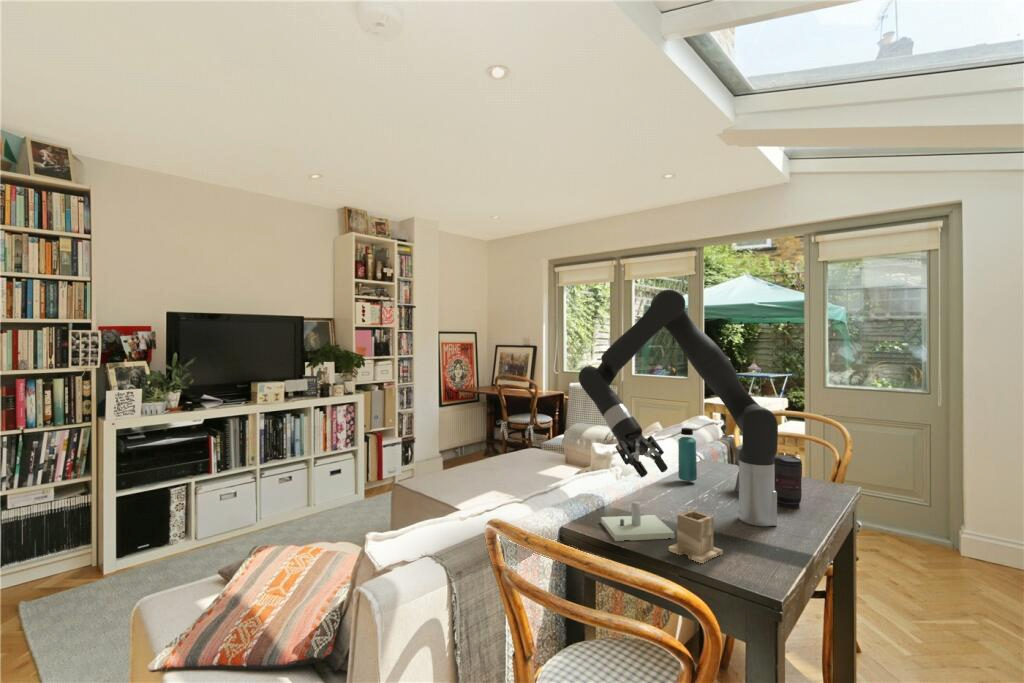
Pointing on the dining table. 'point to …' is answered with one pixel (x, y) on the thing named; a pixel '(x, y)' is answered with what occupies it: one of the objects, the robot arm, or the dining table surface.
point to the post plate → (636, 526)
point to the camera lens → (788, 481)
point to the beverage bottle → (687, 456)
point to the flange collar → (695, 537)
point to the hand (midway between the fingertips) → (655, 473)
